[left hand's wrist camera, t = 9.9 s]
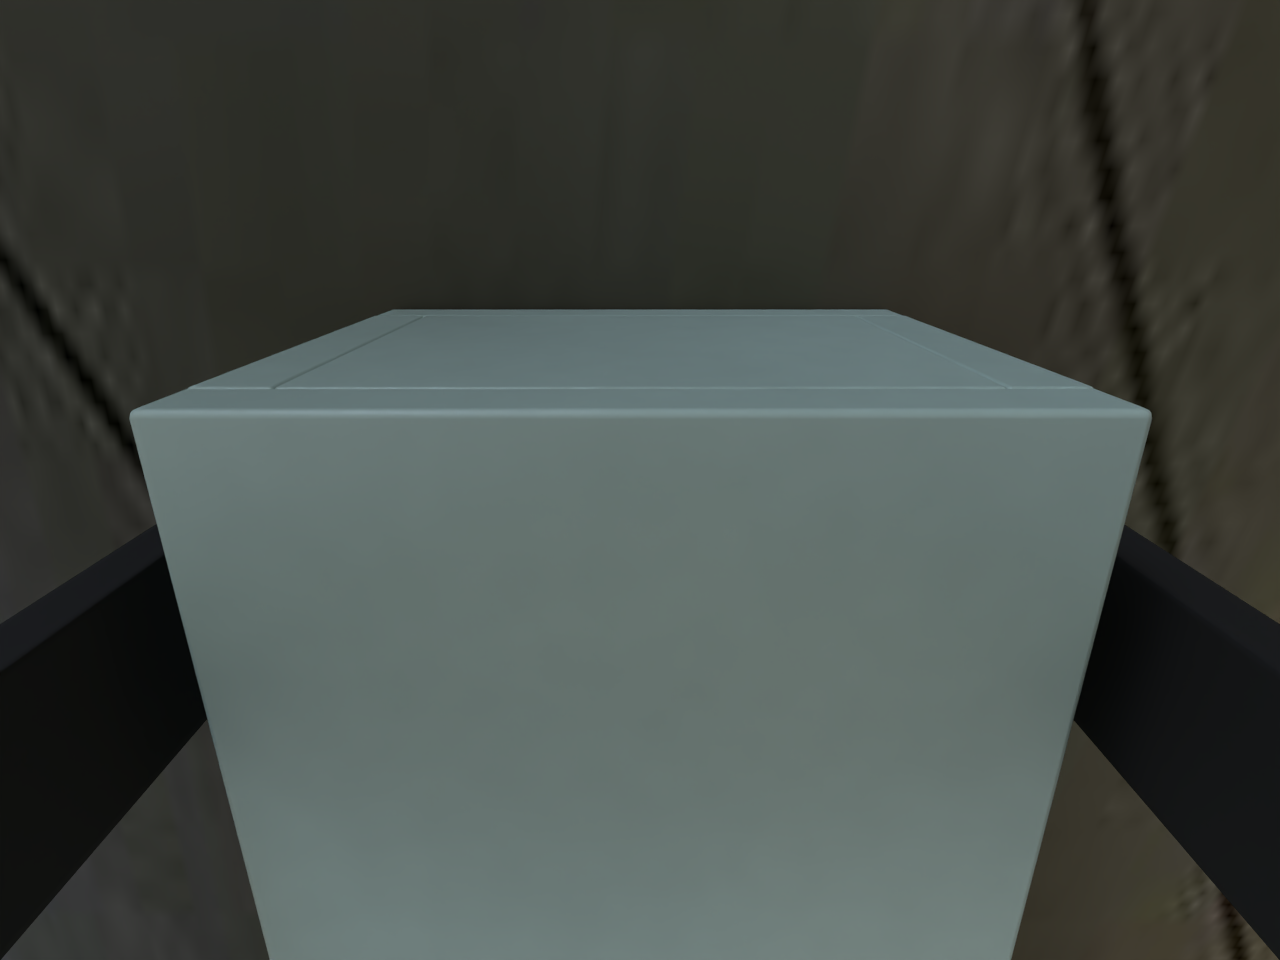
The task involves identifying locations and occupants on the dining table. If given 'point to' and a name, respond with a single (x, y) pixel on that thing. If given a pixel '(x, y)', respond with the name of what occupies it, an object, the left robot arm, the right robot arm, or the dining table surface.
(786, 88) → the dining table surface
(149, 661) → the left robot arm
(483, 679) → the cabinet
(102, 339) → the dining table surface
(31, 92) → the dining table surface
